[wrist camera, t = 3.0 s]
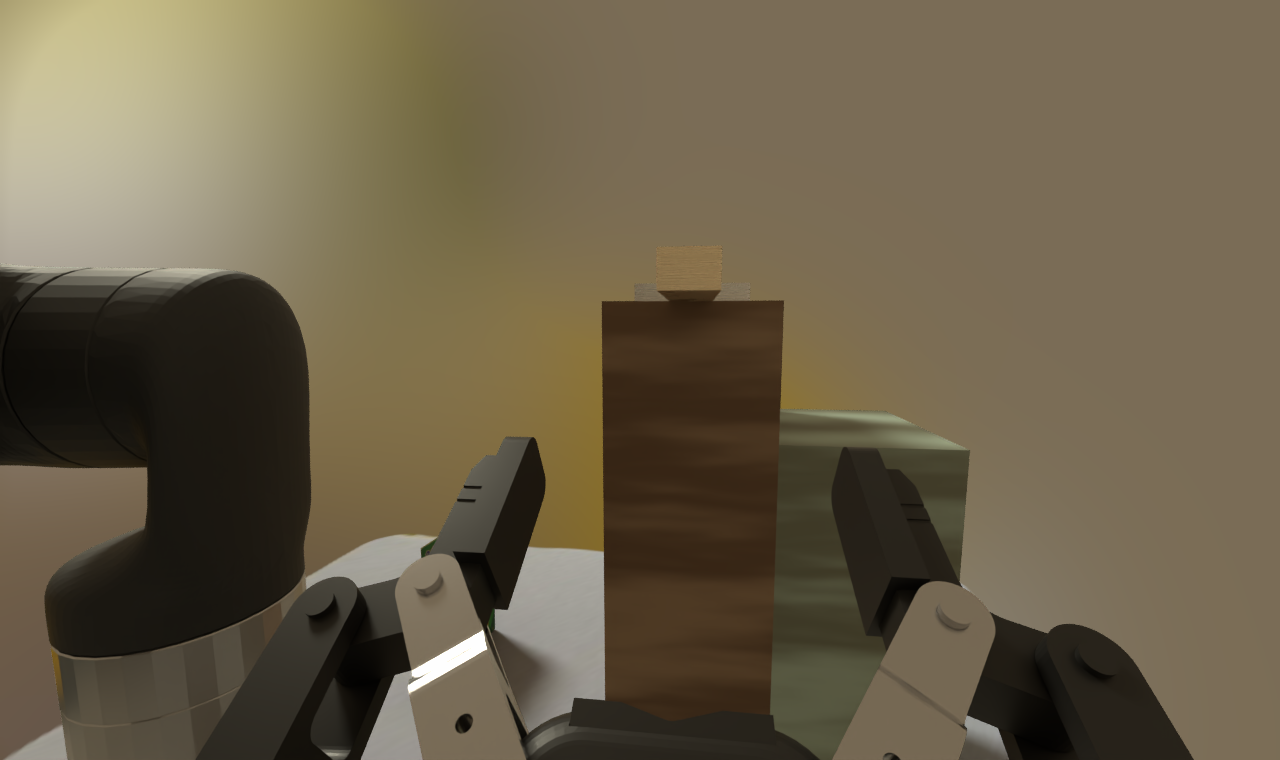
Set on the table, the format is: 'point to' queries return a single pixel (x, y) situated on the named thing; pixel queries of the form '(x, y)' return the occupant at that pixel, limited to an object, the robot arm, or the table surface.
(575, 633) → the table surface
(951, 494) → the stand
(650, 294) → the wooden t-shaped block
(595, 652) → the table surface
